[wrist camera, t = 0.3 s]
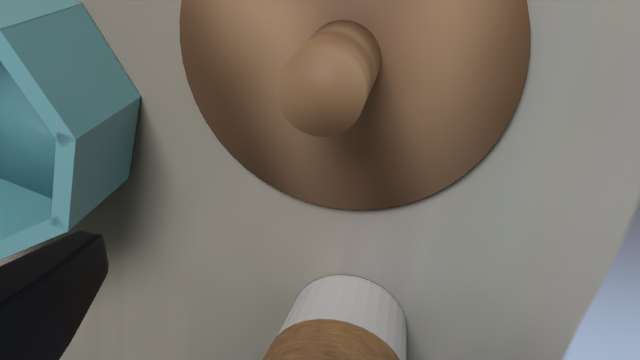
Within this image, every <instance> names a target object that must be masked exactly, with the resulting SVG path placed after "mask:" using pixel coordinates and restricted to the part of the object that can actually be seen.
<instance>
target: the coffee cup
mask: <svg viewBox="0 0 640 360" xmlns="http://www.w3.org/2000/svg"><path fill="white" fill-rule="evenodd" d="M406 337H407V331H406V320H405V317H404V314H403V311H402V309H401V307H400V306H399V304H398V302H397V301H396V300H395V299H394V298H393V297H392V296H391V295H390V293H388V292H387V291H386V290H384V289H383V288H382V287H380V286H378V285H377V284H375V283H373V282H371V281H368V280H366V279H363V278H360V277H355V276H349V275H334V276H328V277H324V278H321V279H318V280H316V281H314V282H312V283H311V284H309V285H308V286H307V287H305V288H304V289H303V290H302V291H301V293H300V294H299V296H298V298H297V299H296V301H295V303H294V304H293V306H292V308H291V310H290V312H289V314H288V316H287V318H286V320H285V322H284V323H283V325H282V327H281V329H280V331H279V333H278V335H277V337H276V338H275V340H274V341H273V343H272V345H271V346H270V348H269V350H268V352H267V353H266V355H265V357H264V359H263V360H406Z"/></svg>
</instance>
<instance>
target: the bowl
mask: <svg viewBox="0 0 640 360" xmlns="http://www.w3.org/2000/svg"><path fill="white" fill-rule="evenodd" d="M140 98H141V96H140V94H139V93H138V91H137V90H136V88H135V87H134V85H133V83H132V82H131V80H130V79H129V77H128V75H127V74H126V72H125V71H124V69H123V68H122V66H121V64H120V63H119V61H118V60H117V58H116V57H115V55H114V53H113V52H112V50H111V49H110V47H109V45H108V44H107V42H106V41H105V39H104V38H103V36H102V34H101V33H100V31H99V30H98V28H97V27H96V25H95V23H94V22H93V20H92V19H91V17H90V15H89V14H88V12H87V11H86V9H85V8H84V6H83V4H82V3H80V2H77V1H74V0H0V259H3V258H5V257H7V256H10V255H12V254H15V253H17V252H20V251H22V250H24V249H27V248H29V247H32V246H34V245H36V244H39V243H41V242H44V241H46V240H49V239H51V238H53V237H56V236H58V235H61V234H63V233H66V232H68V231H70V230H71V229H72V228H73V227H74V226H75V225H76V224H77V223H79V222H80V221H81V220H82V219H83V218H84V217H85V216H86V215H88V214H89V213H90V212H91V211H92V210H93V209H94V208H96V207H97V206H98V205H99V204H100V203H101V202H102V201H103V200H105V199H106V198H107V197H108V196H109V195H110V194H111V193H112V192H114V191H115V190H116V189H117V188H118V187H119V186H120V185H122V184H123V183H124V182H125V181H126V180H127V179H128V178H129V173H130V166H131V159H132V152H133V146H134V139H135V132H136V125H137V118H138V111H139V105H140Z"/></svg>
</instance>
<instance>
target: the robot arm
mask: <svg viewBox="0 0 640 360" xmlns="http://www.w3.org/2000/svg"><path fill="white" fill-rule="evenodd" d="M108 266H109V265H108V258H107V252H106V246H105V240H104V238H103V236H102V235H101V234H99V233H95V232H92V231H88V230H79V231H76V232H74V233H72V234H69V235H67V236H65V237H63V238H61V239H59V240H56V241H54V242H52V243H50V244H48V245H46V246H43V247H41V248H39V249H37V250H35V251H33V252H30V253H28V254H26V255H24V256H22V257H20V258H17V259H15V260H13V261H11V262H9V263H7V264H4V265H2V266H0V360H59V359H60V357H61V356H62V354H63V353H64V351H65V350H66V348H67V347H68V345H69V344H70V342H71V340H72V338H73V337H74V335H75V333H76V331H77V330H78V328H79V326H80V324H81V322H82V320H83V318H84V317H85V315H86V313H87V311H88V309H89V307H90V306H91V304H92V302H93V300H94V298H95V296H96V294H97V293H98V291H99V289H100V287H101V285H102V283H103V281H104V280H105V278H106V275H107V273H108Z"/></svg>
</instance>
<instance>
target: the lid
mask: <svg viewBox="0 0 640 360" xmlns="http://www.w3.org/2000/svg"><path fill="white" fill-rule="evenodd" d="M180 44H181V51H182V58H183V64H184V68H185V72H186V76H187V80H188V83H189V86H190V89H191V91H192V94H193V96H194V99H195V101H196V104H197V106H198V108H199V109H200V111H201V113H202V115H203V117H204V119H205V121H206V122H207V124H208V125H209V127H210V128H211V130H212V131H213V133H214V134H215V136H216V137H217V139H218V140H219V141H220V142H221V143H222V144H223V146H224V147H225V148H226V149H227V150H228V151H229V153H230V154H231V155H232V156H233V157H234V158H235V159H237V160H238V161H239V162H240V163H241V164H242V165H243V166H244V167H245V168H246V169H248V170H249V171H250V172H252V173H253V174H254V175H256V176H257V177H258V178H260V179H261V180H262V181H264V182H266V183H268V184H269V185H271V186H273V187H274V188H276V189H278V190H280V191H282V192H284V193H286V194H288V195H291V196H293V197H295V198H297V199H300V200H304V201H307V202H310V203H313V204H316V205H321V206H326V207H331V208H336V209H347V210H376V209H383V208H390V207H396V206H400V205H404V204H407V203H411V202H415V201H417V200H420V199H422V198H425V197H427V196H430V195H432V194H434V193H436V192H438V191H440V190H442V189H443V188H445V187H447V186H449V185H451V184H452V183H454V182H455V181H456V180H458V179H459V178H461V177H462V176H463V175H465V174H466V173H468V172H469V171H470V170H471V169H472V168H473V167H474V166H475V165H476V164H477V163H478V162H479V161H481V160H482V159H483V158H484V157H485V156H486V154H487V153H488V152H489V151H490V149H491V148H492V147H493V146H494V145H495V143H496V142H497V141H498V140H499V138H500V136H501V135H502V133H503V132H504V130H505V128H506V127H507V125H508V123H509V122H510V120H511V118H512V116H513V113H514V111H515V109H516V107H517V104H518V102H519V100H520V97H521V93H522V90H523V87H524V83H525V80H526V76H527V70H528V63H529V56H530V22H529V14H528V6H527V1H526V0H182V3H181V12H180Z"/></svg>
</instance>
